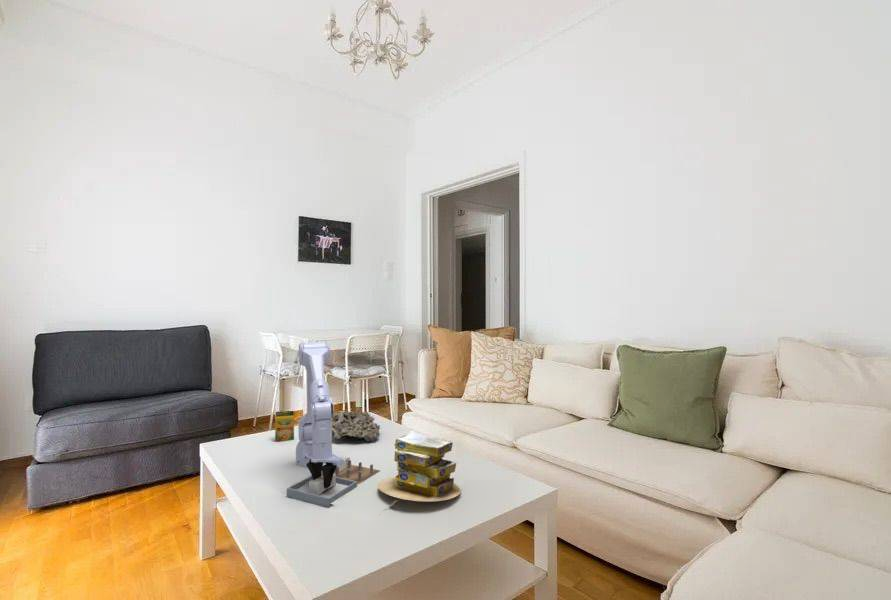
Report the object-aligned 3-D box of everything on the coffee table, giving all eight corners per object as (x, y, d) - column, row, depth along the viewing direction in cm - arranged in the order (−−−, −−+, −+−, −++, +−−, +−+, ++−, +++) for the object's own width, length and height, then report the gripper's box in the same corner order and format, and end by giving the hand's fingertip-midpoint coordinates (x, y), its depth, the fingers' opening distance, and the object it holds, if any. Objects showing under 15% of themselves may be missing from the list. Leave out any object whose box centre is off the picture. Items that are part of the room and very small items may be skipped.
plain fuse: (326, 473, 148) (326, 463, 148) (341, 465, 155) (341, 455, 155) (334, 475, 147) (334, 465, 147) (349, 467, 154) (349, 457, 154)
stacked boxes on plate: (416, 470, 153) (415, 421, 153) (476, 490, 138) (476, 435, 138) (360, 496, 134) (360, 440, 134) (423, 522, 119) (423, 459, 118)
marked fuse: (309, 493, 133) (308, 481, 133) (327, 483, 140) (327, 472, 140) (317, 495, 132) (317, 483, 132) (335, 485, 139) (335, 474, 139)
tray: (286, 496, 134) (286, 488, 134) (316, 480, 145) (316, 472, 145) (328, 507, 127) (328, 498, 127) (357, 489, 138) (357, 481, 138)
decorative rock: (324, 445, 177) (324, 419, 178) (331, 433, 202) (331, 411, 203) (380, 442, 180) (380, 417, 181) (380, 431, 205) (380, 409, 207)
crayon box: (275, 442, 183) (274, 413, 183) (275, 439, 186) (274, 411, 186) (294, 439, 186) (294, 411, 186) (293, 437, 188) (293, 410, 188)
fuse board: (316, 477, 147) (316, 466, 147) (340, 465, 158) (340, 455, 158) (358, 487, 140) (358, 475, 140) (380, 473, 151) (380, 462, 151)
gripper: (294, 441, 135) (294, 486, 136) (332, 448, 129) (332, 495, 129) (310, 435, 142) (311, 477, 142) (347, 441, 135) (348, 486, 136)
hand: (322, 485), depth 136 cm, fingers open, 3 cm apart
